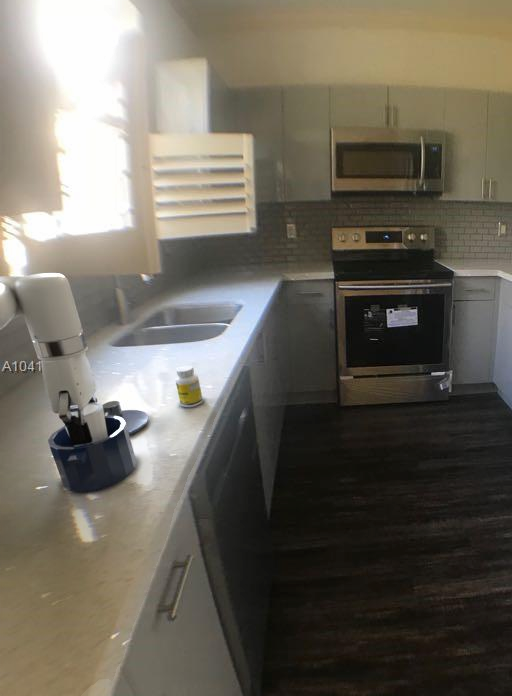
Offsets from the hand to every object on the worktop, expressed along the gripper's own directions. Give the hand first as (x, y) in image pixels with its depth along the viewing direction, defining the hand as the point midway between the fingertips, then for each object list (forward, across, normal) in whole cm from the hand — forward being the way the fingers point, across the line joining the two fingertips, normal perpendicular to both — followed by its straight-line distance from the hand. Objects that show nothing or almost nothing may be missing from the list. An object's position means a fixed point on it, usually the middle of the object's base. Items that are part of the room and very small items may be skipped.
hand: (88, 432), depth 87 cm
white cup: (+2, 0, 0) cm, 2 cm away
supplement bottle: (+9, -27, +15) cm, 32 cm away
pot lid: (+9, -19, -1) cm, 21 cm away
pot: (+9, 0, 0) cm, 9 cm away
